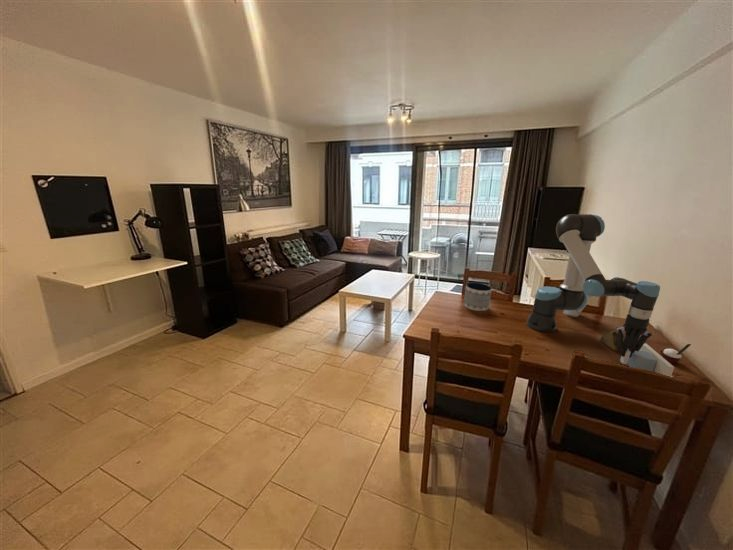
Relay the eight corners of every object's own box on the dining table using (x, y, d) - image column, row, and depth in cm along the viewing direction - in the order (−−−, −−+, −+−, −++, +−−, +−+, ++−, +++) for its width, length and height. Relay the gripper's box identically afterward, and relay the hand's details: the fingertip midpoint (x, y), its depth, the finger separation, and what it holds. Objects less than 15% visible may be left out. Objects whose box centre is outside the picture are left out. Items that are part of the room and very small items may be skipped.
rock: (594, 334, 163) (599, 340, 154) (608, 324, 160) (614, 330, 151) (610, 349, 161) (617, 356, 152) (626, 340, 158) (633, 346, 149)
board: (662, 382, 128) (668, 366, 126) (636, 357, 147) (641, 342, 144) (679, 385, 127) (686, 369, 124) (651, 359, 145) (656, 345, 143)
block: (633, 370, 136) (638, 357, 134) (625, 362, 143) (629, 349, 140) (652, 373, 134) (657, 360, 132) (642, 365, 141) (647, 352, 139)
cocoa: (656, 356, 149) (662, 334, 146) (671, 358, 148) (678, 335, 145) (669, 366, 140) (676, 342, 137) (685, 368, 139) (693, 344, 136)
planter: (461, 301, 210) (464, 281, 206) (485, 303, 208) (488, 283, 204) (465, 310, 195) (468, 289, 191) (491, 312, 193) (494, 291, 189)
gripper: (625, 317, 131) (610, 364, 138) (661, 322, 127) (644, 369, 135) (617, 310, 138) (603, 355, 145) (651, 314, 134) (635, 360, 142)
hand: (623, 362), depth 140 cm, fingers closed
